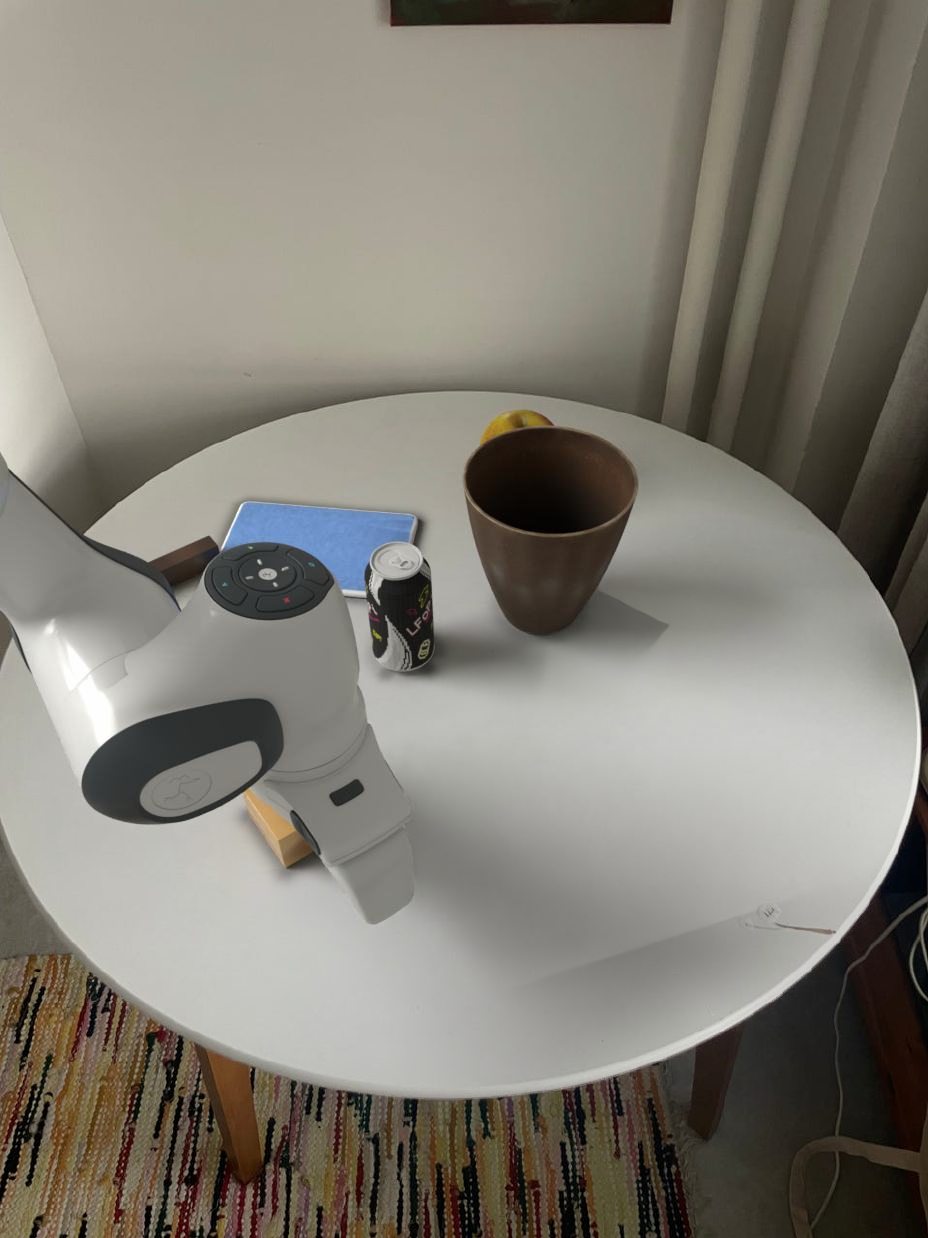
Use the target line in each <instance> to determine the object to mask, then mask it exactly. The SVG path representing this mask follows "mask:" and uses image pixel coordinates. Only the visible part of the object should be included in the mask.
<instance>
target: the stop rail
mask: <svg viewBox="0 0 928 1238" xmlns="http://www.w3.org/2000/svg"><path fill="white" fill-rule="evenodd" d="M219 554H220V547H219V545H218V544H217V542H215V540H214V539H213V538H212V537H211V535H206V536H204V537H202V538H199V539H198V540H194V541H193V542H190V543H188V544H186V545H184V546H181V547H179V548H177V549H174V550H172V551H170V552H168V553H166V554H164V555H161V556H158V557H156V558H154V559H152V560H149V561H147V562H148V563H150V564H151V565H153V566H154V567H155V568H156V569H158V570H159V571H160V572H161V573H162V574H163V576H164V577H165V578H166V580H167V581H168V583H169V585H170V587H171V588H172V587H175V586H176V585H179V584H182V583H183V582H186V581H187V580H190V579H192V578H194V577H196V576H198V575H201V574H203V573H204V571H205V569H206V567H207V566H208V564H209V563H210V562H211V561H212V560H213V559H214V558H215V557H216V556H217V555H219Z"/></svg>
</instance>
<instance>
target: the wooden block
mask: <svg viewBox="0 0 928 1238" xmlns="http://www.w3.org/2000/svg"><path fill="white" fill-rule="evenodd" d="M242 795H243V798H244V803H245V806H246V808H247V813H248V817H250V819H251V820H252V822H253V823H254V825H255V826H256V828H257V829H258V830H259V832H260V833H261V835H262V836H263V838H264V840H266V842H267V844H268V845H269V846H270V849H271V850H272V851H273V852H274V854H275V855H276V857H277V859H278V860H279V861H280V863H281V865H282V866H283V868H285V869H287V868H289V867H290V866H292V865H294V864H295V863H297V862H299V861H300V860H302V859H304V858H305V857H307V856H309V855H310V854H312V853H313V852H314V850H313V849H312V848H311V847H310V845H309V844H308V843H307V842H306V840H305V839H304V838H303V837H302V836H301V835H300V834H299V833H298V832H297V831H296V829H295V828H294V827H293V826H292V825H291V824H290V823H289V822H287V821H286V820H285V819H284V818H283V817H281V816H280V815H279V814H278V813H277V812H276V811H275V810H274V809H273V808H272V807H271V806H270V805H268V804H266V803H264V802H263V801H261V800H260V799H259V798H258V797H256V796H255V795H254V794H253V793H252V791H251V790H250V789H249V788H248V789H247V790H246V791H244V792H243V793H242Z"/></svg>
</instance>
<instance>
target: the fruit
mask: <svg viewBox="0 0 928 1238" xmlns="http://www.w3.org/2000/svg"><path fill="white" fill-rule="evenodd" d="M530 426H555V424H554V423H553V421H551V420H550V419H549V418H548V417H547V416H545V415H543V414H542V413H539V412H537V411H535V410H529V409H515V410H514V409H513V410H509V411H506V412H503V413H501V414H499V415H498V416H496V417H495V418H493V419H492V421H491V422H490V423H489V424H488V425H487V426H486V428H485V430H483V433H482V435H481V438H480V440H479V441H480V442H479V446H480V445H481V444H483V443H484V442H486V441H487V440H489V439H491V438H493V437H495V436H497V435H499V434H502V433H504V432H507V431H510V430H514V429H518V428H524V427H530Z"/></svg>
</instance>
